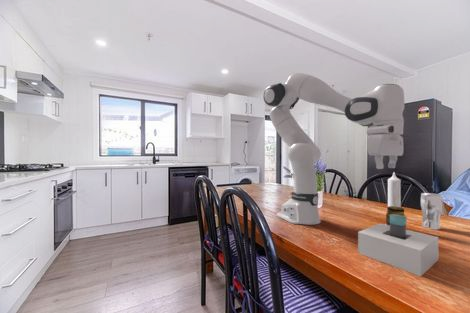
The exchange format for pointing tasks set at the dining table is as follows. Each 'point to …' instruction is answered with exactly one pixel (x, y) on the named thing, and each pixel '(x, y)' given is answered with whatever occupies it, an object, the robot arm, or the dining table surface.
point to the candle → (394, 191)
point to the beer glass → (431, 210)
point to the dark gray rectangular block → (398, 226)
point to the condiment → (393, 212)
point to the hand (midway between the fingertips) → (385, 168)
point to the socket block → (399, 248)
